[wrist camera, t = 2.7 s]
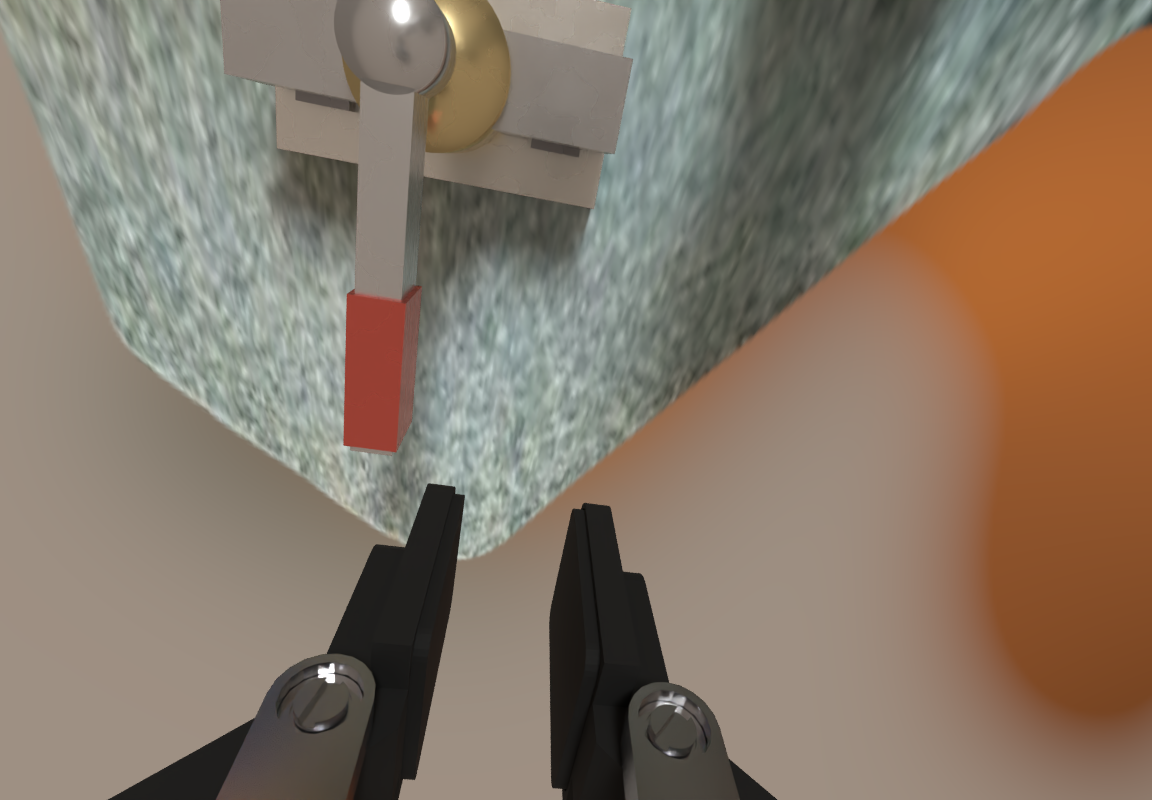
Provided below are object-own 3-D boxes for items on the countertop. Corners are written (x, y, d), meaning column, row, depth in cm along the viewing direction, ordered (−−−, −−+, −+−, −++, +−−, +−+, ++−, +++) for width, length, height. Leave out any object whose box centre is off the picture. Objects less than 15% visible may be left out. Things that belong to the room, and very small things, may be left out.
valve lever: (362, -19, 18) (331, -49, 15) (461, 3, 18) (448, -21, 16) (350, 418, 24) (327, 449, 22) (425, 429, 24) (411, 460, 22)
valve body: (626, 16, 27) (668, -54, 18) (591, 206, 31) (611, 227, 22) (286, -65, 25) (142, -188, 16) (289, 148, 29) (173, 145, 20)
